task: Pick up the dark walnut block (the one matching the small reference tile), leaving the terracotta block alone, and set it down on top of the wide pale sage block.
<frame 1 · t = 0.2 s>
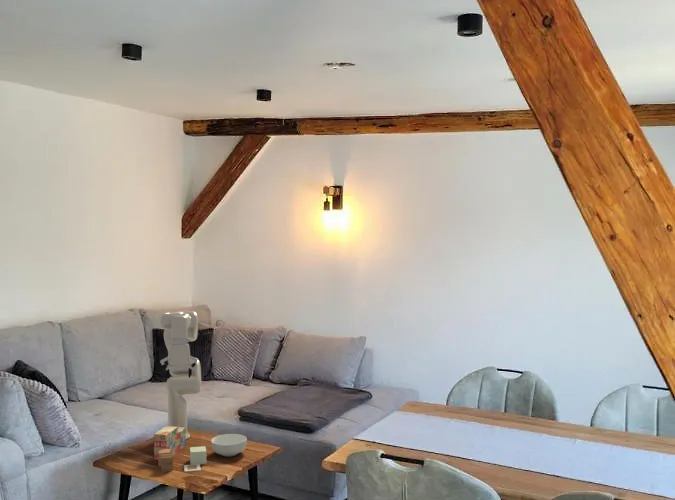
hand: (179, 377, 311), 36 cm above the table, tool pointing down, fingers open, 9 cm apart
cereal bowl: (229, 454, 314), on the table
reference tile: (192, 468, 293), on the table
stack of blocks: (170, 453, 314), on the table
sage base block: (198, 462, 302), on the table
terracotta block: (164, 464, 299), on the table
walnut block: (166, 469, 292), on the table
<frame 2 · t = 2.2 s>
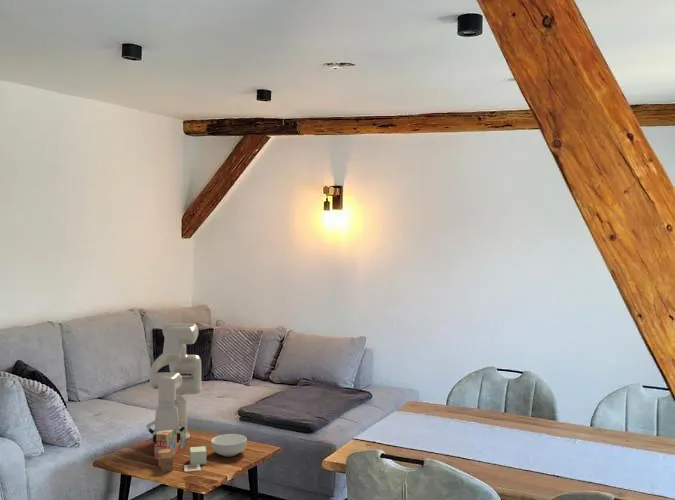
hand: (166, 442, 291), 12 cm above the table, tool pointing down, fingers open, 9 cm apart
nothing on the table moved.
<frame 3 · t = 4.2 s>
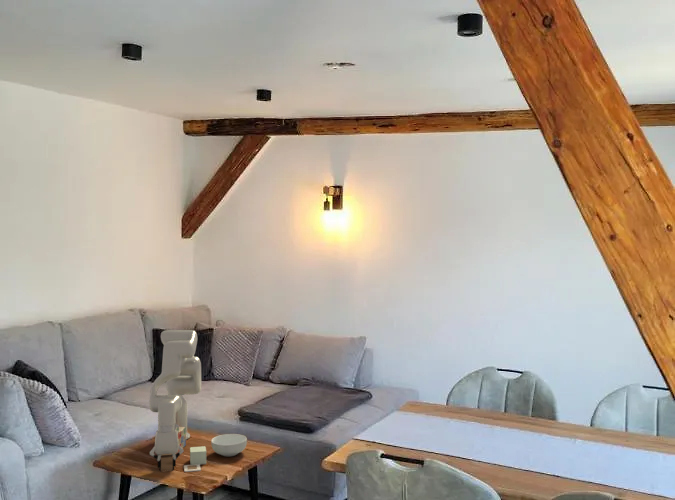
hand: (166, 468, 292), 0 cm above the table, tool pointing down, fingers closed on walnut block, 5 cm apart
walnut block: (166, 469, 292), on the table, touching gripper
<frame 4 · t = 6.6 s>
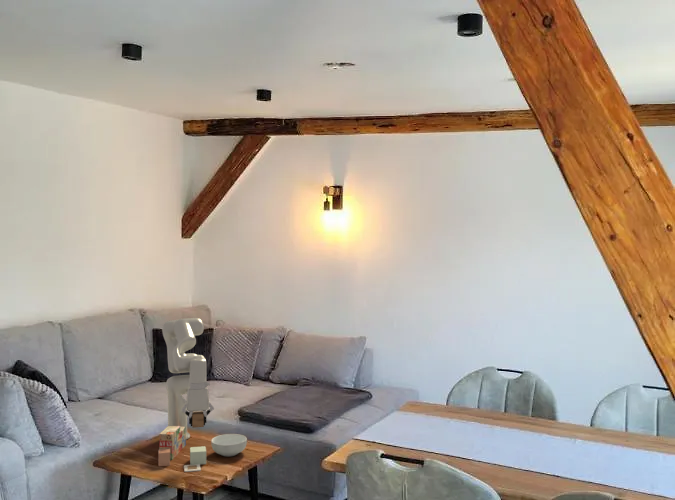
hand: (197, 424, 301), 17 cm above the table, tool pointing down, fingers closed on walnut block, 5 cm apart
walnut block: (197, 425, 301), point 17 cm above the table, touching gripper
when the fingers open (8 cm above the table, at t = 9.1 s): walnut block drops 2 cm, resting on sage base block.
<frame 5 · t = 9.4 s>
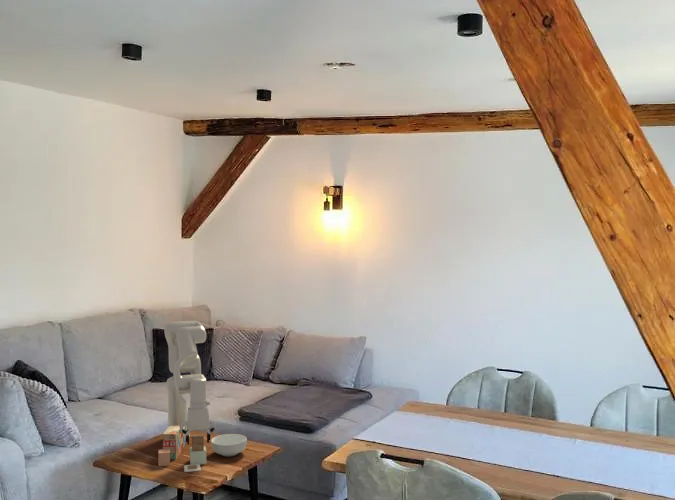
hand: (198, 442, 302), 9 cm above the table, tool pointing down, fingers open, 8 cm apart
sage base block: (198, 462, 302), on the table, touching walnut block
walnut block: (197, 449, 302), point 6 cm above the table, touching sage base block
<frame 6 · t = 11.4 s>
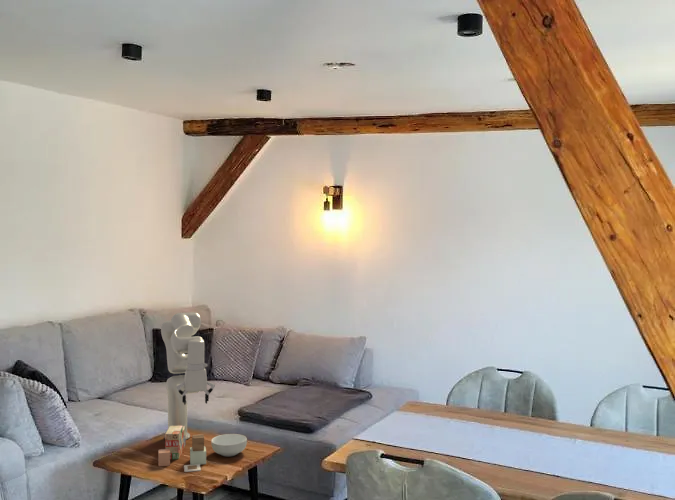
hand: (195, 403, 303), 27 cm above the table, tool pointing down, fingers open, 9 cm apart
sage base block: (197, 462, 302), on the table
walnut block: (198, 449, 302), point 6 cm above the table
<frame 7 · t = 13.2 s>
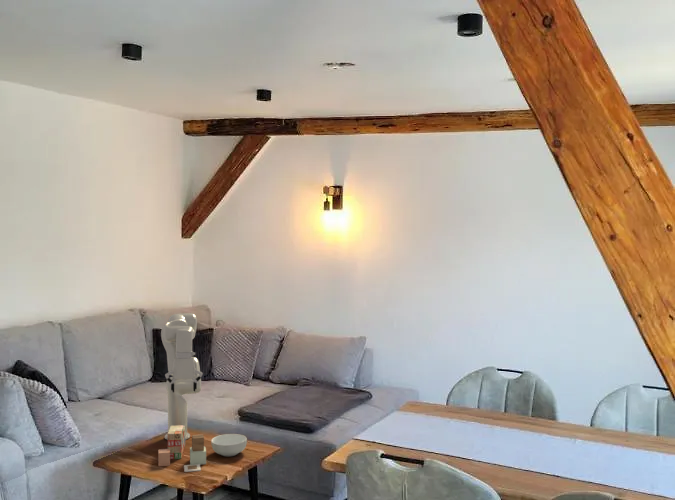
hand: (183, 391, 310), 30 cm above the table, tool pointing down, fingers open, 9 cm apart
at the end: walnut block 0.2 cm off-centre on the sage base block, point 6.0 cm above the sage base block's base; walnut block tilted 0°; the gripper is holding nothing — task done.
